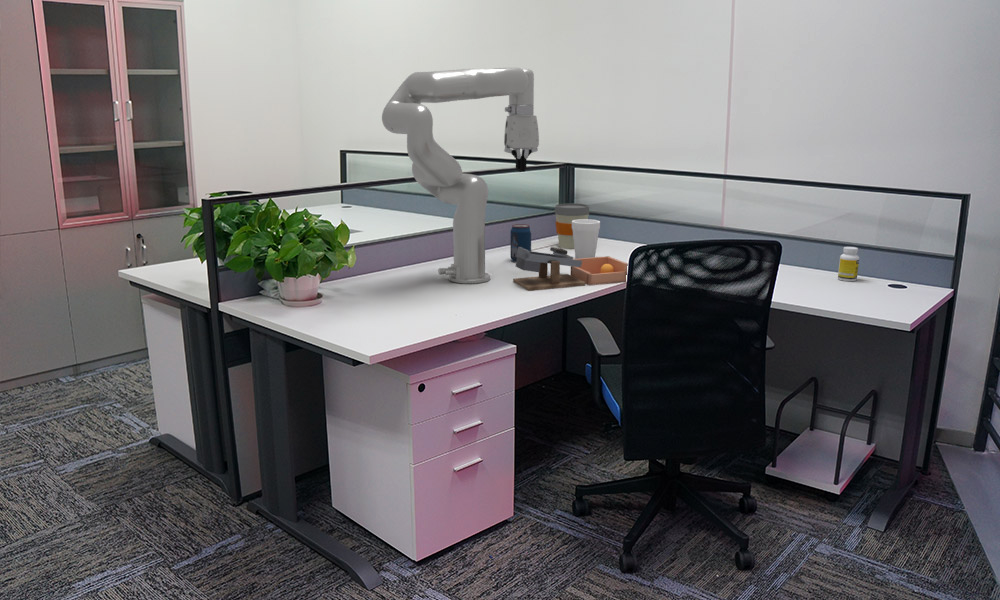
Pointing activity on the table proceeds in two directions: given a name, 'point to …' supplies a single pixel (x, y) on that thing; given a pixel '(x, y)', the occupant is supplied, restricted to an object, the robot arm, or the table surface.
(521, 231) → the soda can
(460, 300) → the table surface
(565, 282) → the lever stand
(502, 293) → the table surface
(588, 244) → the foam cup
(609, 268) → the ball
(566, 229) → the reusable coffee cup
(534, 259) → the lever
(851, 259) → the supplement bottle
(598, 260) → the bin
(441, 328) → the table surface
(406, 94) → the robot arm
